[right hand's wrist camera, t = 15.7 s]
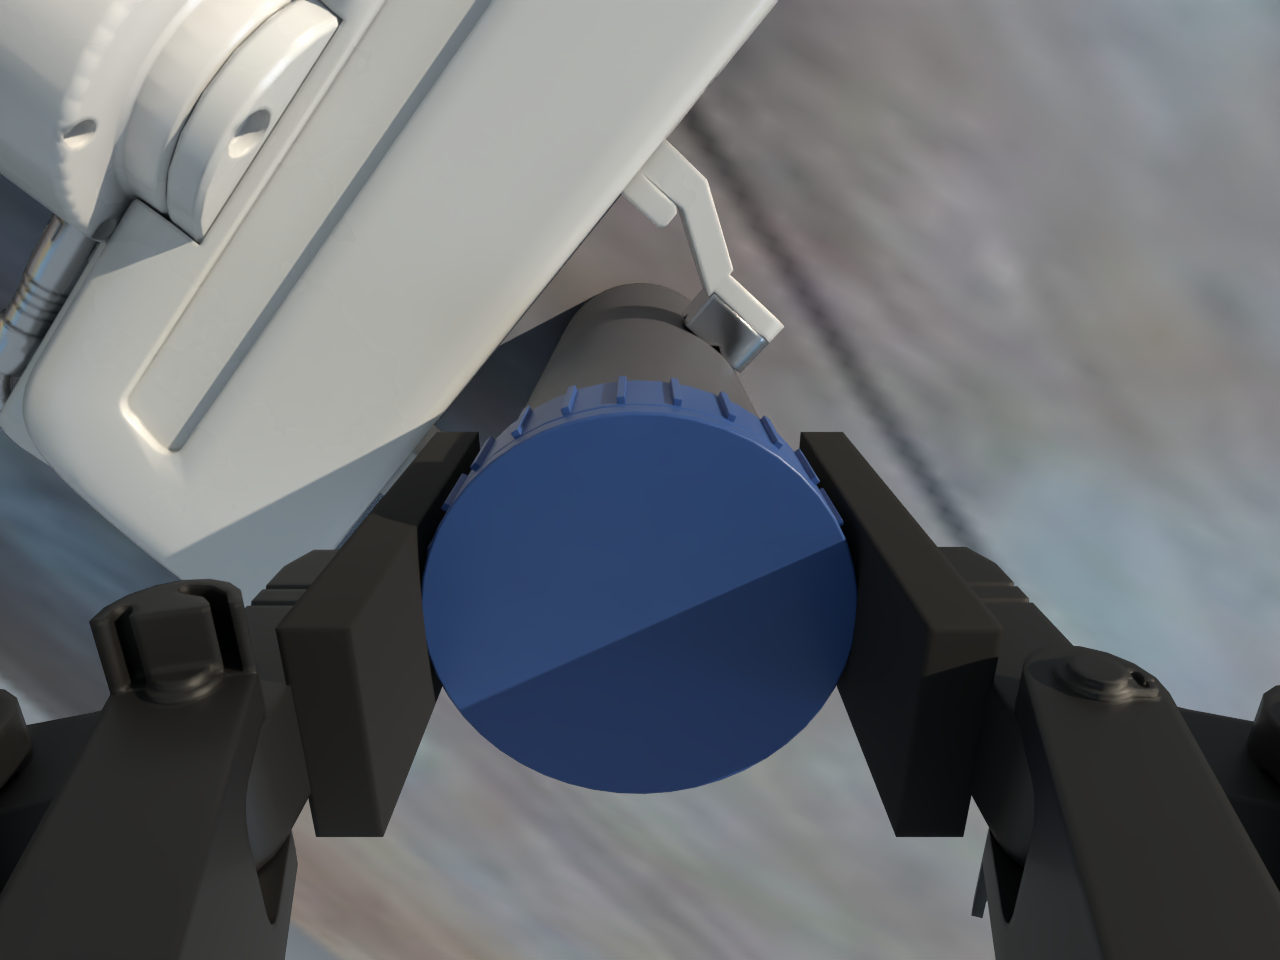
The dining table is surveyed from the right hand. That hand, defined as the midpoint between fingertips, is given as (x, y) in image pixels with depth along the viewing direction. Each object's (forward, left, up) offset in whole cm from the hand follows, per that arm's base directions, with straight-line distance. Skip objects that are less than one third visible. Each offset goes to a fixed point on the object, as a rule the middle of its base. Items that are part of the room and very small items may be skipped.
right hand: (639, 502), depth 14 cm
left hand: (0, -1, -5) cm, 5 cm away
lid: (0, 0, +4) cm, 4 cm away
